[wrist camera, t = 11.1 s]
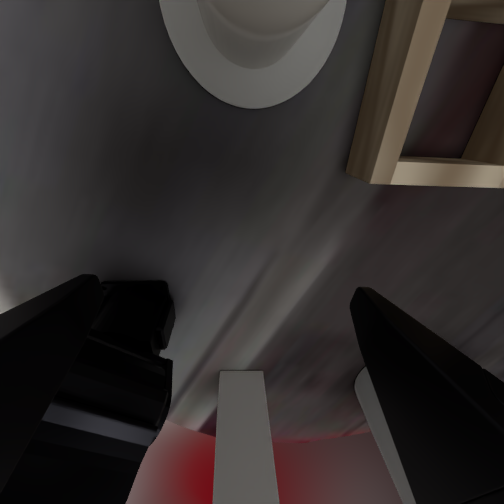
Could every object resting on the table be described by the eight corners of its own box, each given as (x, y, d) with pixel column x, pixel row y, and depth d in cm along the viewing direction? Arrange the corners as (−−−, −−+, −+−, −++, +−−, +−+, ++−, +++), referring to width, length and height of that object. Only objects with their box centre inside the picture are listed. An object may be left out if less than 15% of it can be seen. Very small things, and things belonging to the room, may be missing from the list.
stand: (345, 172, 20) (369, 183, 16) (391, -23, 14) (443, -71, 11) (468, 177, 21) (516, 188, 17) (556, -3, 15) (653, -41, 12)
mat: (172, 104, 16) (169, 103, 16) (144, -171, 11) (138, -191, 10) (323, 113, 17) (326, 112, 17) (365, -135, 12) (373, -151, 11)
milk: (262, 369, 32) (312, 737, 13) (257, 394, 35) (291, 726, 16) (218, 370, 31) (201, 761, 12) (217, 395, 34) (200, 745, 15)
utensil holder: (339, 364, 33) (433, 575, 17) (447, 329, 31) (659, 532, 15) (358, 411, 40) (436, 591, 24) (447, 385, 38) (592, 563, 22)
